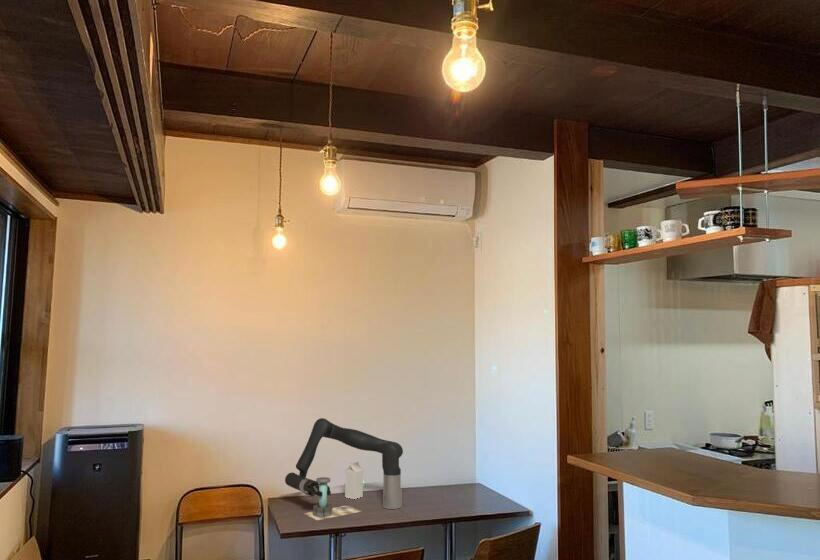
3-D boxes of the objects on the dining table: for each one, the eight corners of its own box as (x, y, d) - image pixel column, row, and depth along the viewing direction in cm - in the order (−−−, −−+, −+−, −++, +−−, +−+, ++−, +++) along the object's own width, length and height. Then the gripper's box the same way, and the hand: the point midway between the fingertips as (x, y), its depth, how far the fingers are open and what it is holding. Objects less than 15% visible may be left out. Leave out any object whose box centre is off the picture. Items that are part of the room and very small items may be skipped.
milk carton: (362, 497, 341) (363, 462, 343) (354, 499, 335) (355, 464, 337) (352, 495, 345) (353, 461, 347) (344, 497, 339) (345, 463, 341)
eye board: (347, 508, 319) (347, 497, 319) (362, 514, 308) (362, 503, 308) (303, 516, 303) (303, 505, 304) (316, 523, 292) (317, 511, 293)
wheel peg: (325, 511, 307) (325, 476, 308) (332, 514, 301) (333, 479, 303) (312, 513, 303) (313, 478, 304) (319, 517, 297) (320, 481, 299)
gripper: (297, 481, 310) (313, 488, 297) (321, 477, 319) (338, 484, 305) (296, 496, 310) (313, 503, 296) (321, 492, 318) (338, 499, 305)
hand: (325, 493), depth 301 cm, fingers closed on wheel peg, 4 cm apart
